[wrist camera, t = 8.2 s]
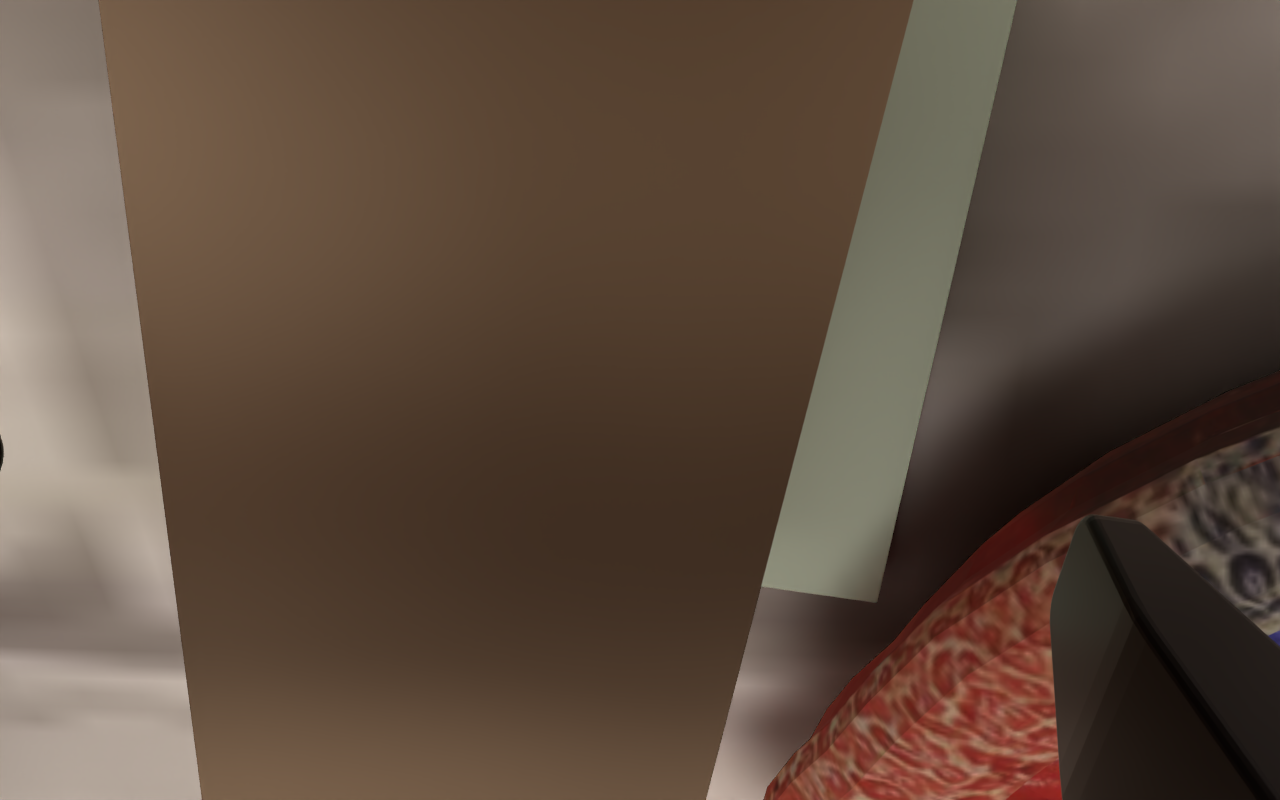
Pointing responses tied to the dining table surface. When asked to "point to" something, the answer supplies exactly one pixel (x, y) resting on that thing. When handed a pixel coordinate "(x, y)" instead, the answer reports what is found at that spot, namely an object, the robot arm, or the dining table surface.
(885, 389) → the strip
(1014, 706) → the dish
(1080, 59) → the dining table surface
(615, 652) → the brown rectangular block
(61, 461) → the dining table surface
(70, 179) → the dining table surface
